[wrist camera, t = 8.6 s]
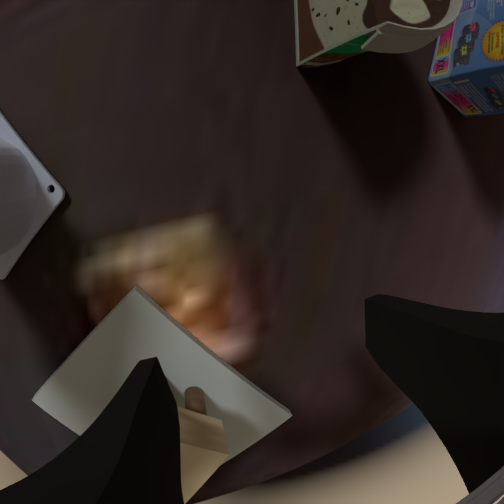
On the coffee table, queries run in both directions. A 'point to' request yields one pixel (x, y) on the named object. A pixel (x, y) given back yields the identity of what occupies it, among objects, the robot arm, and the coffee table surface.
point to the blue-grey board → (173, 365)
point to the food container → (367, 27)
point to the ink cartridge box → (472, 59)
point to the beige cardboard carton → (199, 442)
